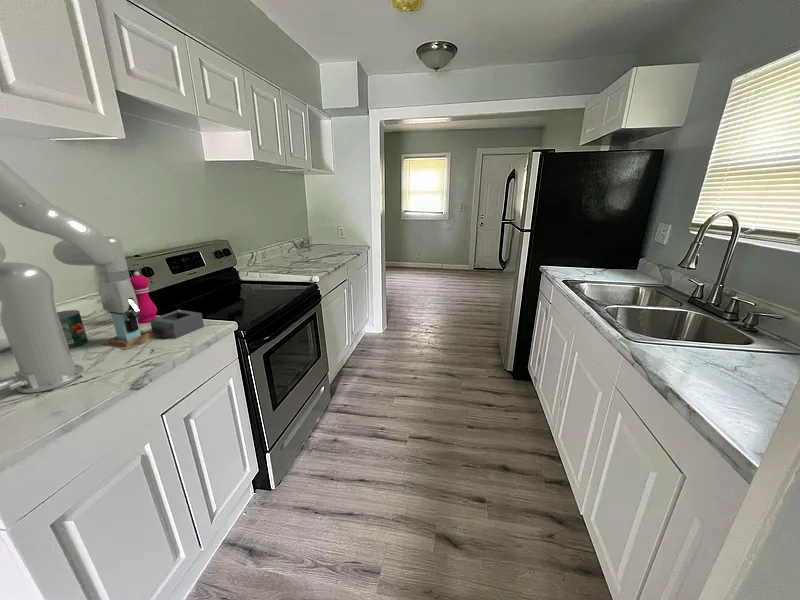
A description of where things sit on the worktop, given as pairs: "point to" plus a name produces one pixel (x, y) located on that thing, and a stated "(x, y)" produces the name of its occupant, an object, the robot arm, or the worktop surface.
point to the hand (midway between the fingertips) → (127, 329)
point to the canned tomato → (73, 328)
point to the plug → (123, 327)
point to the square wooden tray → (127, 344)
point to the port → (177, 323)
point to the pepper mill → (143, 298)
